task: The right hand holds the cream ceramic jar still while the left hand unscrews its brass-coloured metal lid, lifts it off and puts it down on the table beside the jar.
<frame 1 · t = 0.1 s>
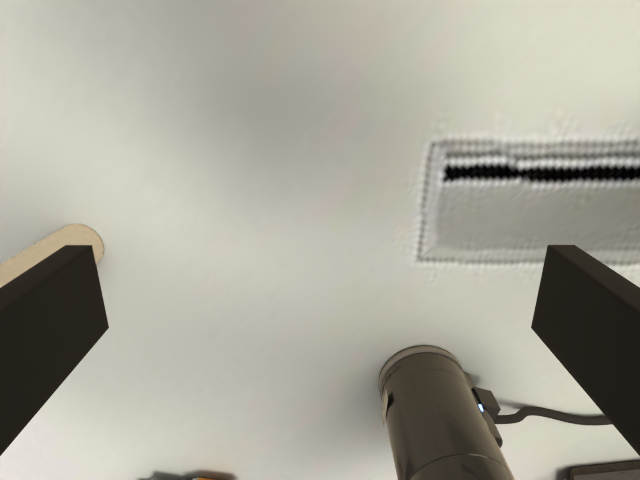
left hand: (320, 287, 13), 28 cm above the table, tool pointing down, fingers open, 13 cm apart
jar: (80, 245, 42), on the table
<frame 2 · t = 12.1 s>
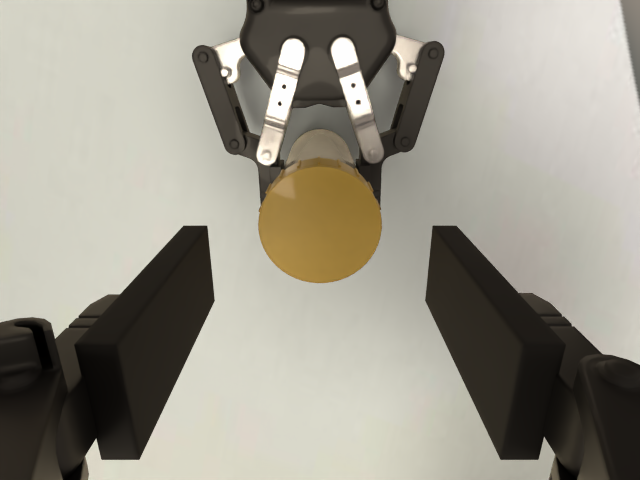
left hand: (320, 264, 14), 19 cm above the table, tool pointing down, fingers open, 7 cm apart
right hand: (321, 219, 27), fingers closed on jar, 4 cm apart
jar: (320, 160, 32), on the table, touching right hand
lid: (320, 225, 18), point 15 cm above the table, screwed on, not yet turned
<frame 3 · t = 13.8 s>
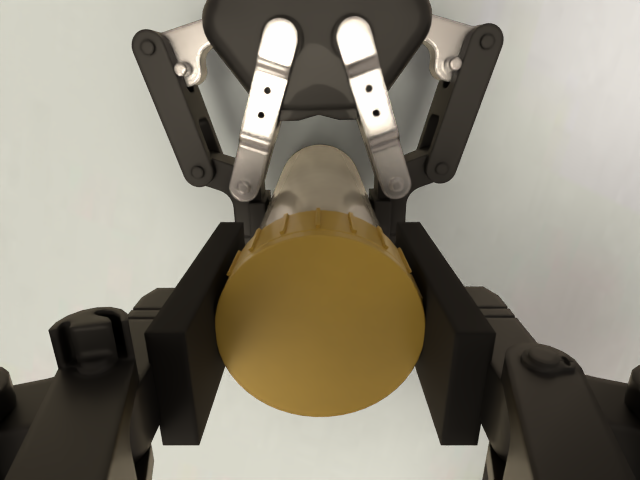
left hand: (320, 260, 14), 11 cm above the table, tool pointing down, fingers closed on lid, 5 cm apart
right hand: (321, 270, 20), fingers closed on jar, 4 cm apart
jar: (320, 184, 25), on the table, touching right hand
lid: (320, 326, 11), point 15 cm above the table, screwed on, not yet turned, touching left hand
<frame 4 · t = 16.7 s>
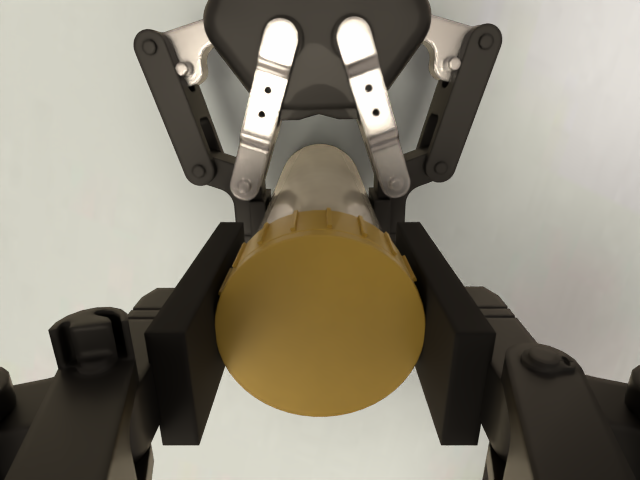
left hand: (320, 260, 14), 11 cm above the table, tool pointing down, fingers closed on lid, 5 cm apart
right hand: (321, 269, 20), fingers closed on jar, 4 cm apart
jar: (320, 183, 25), on the table, touching right hand
lid: (320, 326, 11), point 15 cm above the table, turned 89° so far, risen 0.1 cm, still on its thread, touching left hand
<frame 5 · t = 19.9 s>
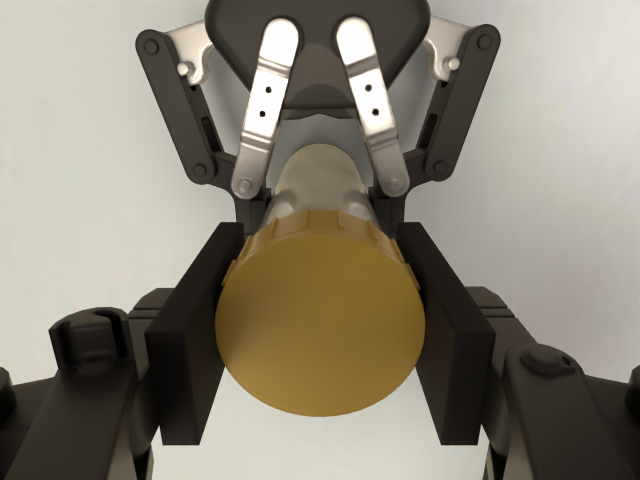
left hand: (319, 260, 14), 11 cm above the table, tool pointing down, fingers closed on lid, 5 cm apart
right hand: (321, 267, 20), fingers closed on jar, 4 cm apart
jar: (320, 182, 25), on the table, touching right hand
lid: (320, 326, 11), point 15 cm above the table, turned 178° so far, risen 0.3 cm, still on its thread, touching left hand
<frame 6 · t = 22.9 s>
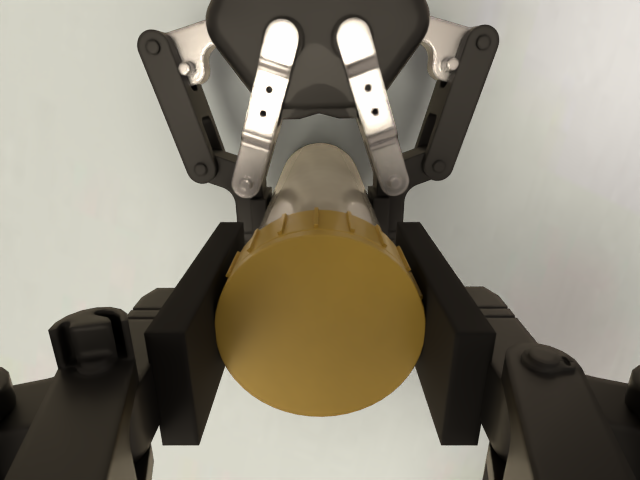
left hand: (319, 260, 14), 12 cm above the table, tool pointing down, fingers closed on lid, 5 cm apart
right hand: (321, 266, 20), fingers closed on jar, 4 cm apart
jar: (320, 182, 25), on the table, touching right hand
lid: (320, 326, 11), point 16 cm above the table, turned 266° so far, risen 0.5 cm, still on its thread, touching left hand
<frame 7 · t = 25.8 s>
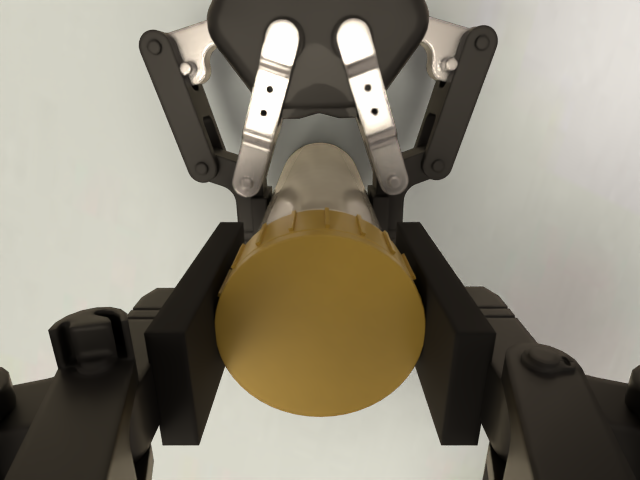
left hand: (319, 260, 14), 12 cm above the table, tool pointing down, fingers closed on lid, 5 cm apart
right hand: (321, 264, 21), fingers closed on jar, 4 cm apart
jar: (320, 181, 25), on the table, touching right hand
lid: (320, 326, 11), point 16 cm above the table, turned 355° so far, risen 0.6 cm, still on its thread, touching left hand
when the left hand's fingers open (0 cm above the table, at t = 34.8 s): lid drops 3 cm, point 2 cm above the table.
when the right hand's fingers open (6 cm above the table, at t = 36.0 s): jar stays where it is, on the table.
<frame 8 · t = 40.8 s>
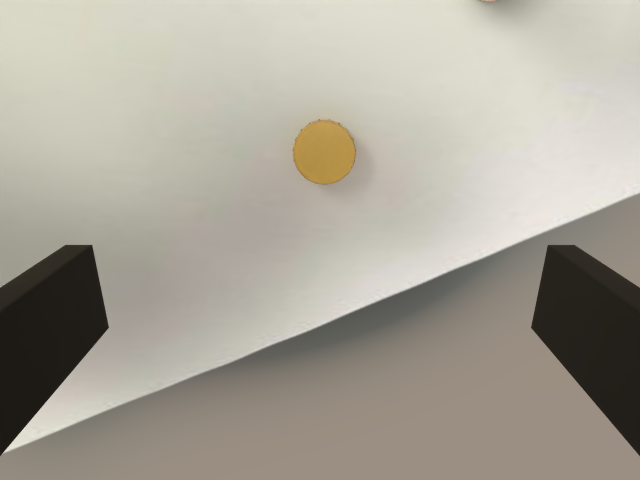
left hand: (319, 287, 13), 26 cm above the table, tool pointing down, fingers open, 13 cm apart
lid: (324, 153, 35), point 2 cm above the table, off its thread
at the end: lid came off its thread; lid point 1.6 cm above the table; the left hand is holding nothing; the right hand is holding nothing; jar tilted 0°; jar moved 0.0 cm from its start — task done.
